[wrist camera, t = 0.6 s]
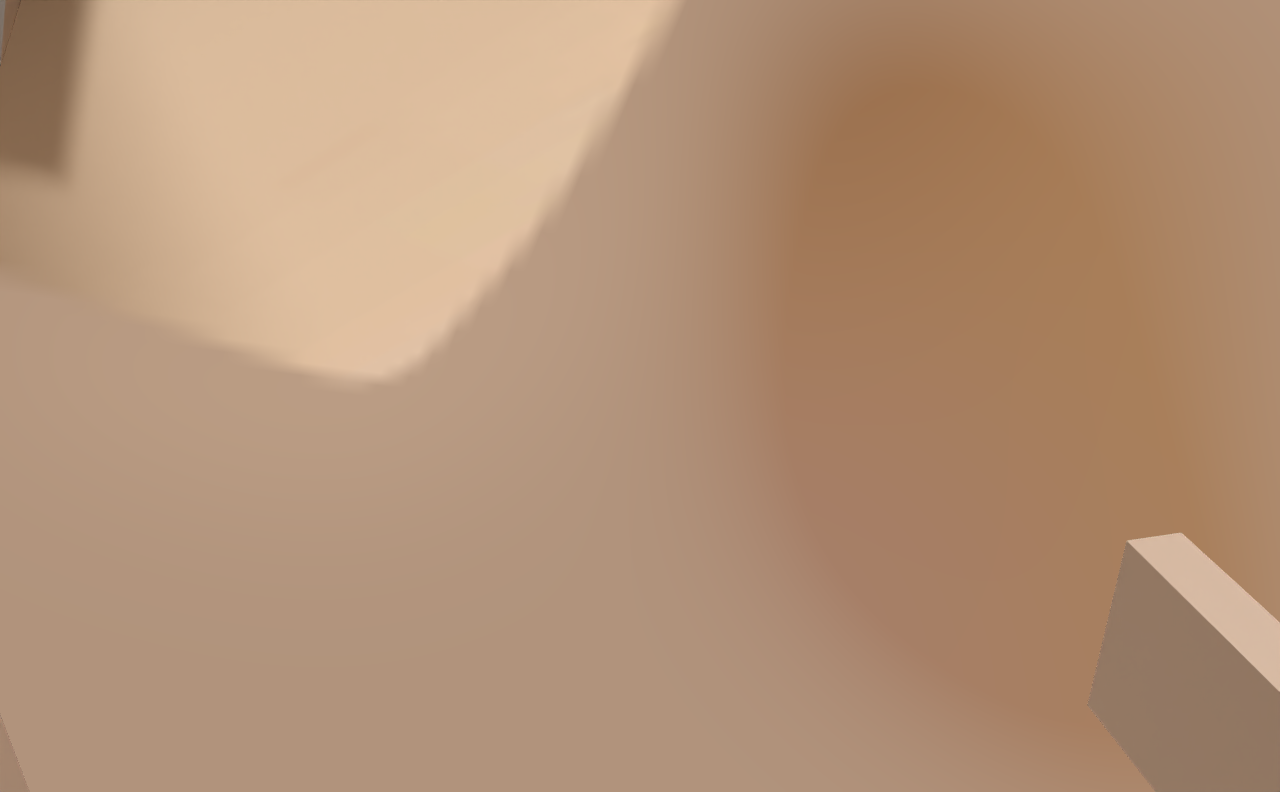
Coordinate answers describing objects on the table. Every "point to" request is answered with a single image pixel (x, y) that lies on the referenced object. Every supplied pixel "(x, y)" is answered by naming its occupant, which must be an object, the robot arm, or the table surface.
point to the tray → (7, 22)
